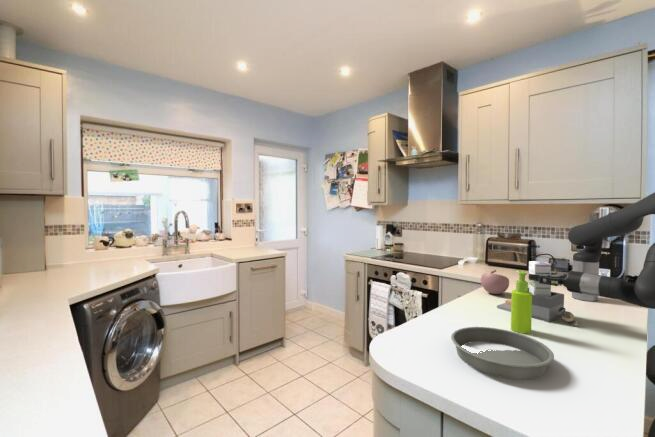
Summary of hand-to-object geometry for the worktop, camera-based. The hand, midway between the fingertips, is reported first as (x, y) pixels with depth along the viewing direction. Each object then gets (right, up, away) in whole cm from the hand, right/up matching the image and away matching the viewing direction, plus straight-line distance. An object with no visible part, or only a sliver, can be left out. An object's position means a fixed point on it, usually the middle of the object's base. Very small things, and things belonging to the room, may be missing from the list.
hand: (534, 275), depth 122 cm
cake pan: (-34, -17, -36) cm, 52 cm away
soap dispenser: (-15, -16, -16) cm, 27 cm away
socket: (-1, -15, +2) cm, 15 cm away
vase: (+5, -16, -11) cm, 19 cm away
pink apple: (-1, -14, +28) cm, 31 cm away
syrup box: (+1, -9, -1) cm, 9 cm away
